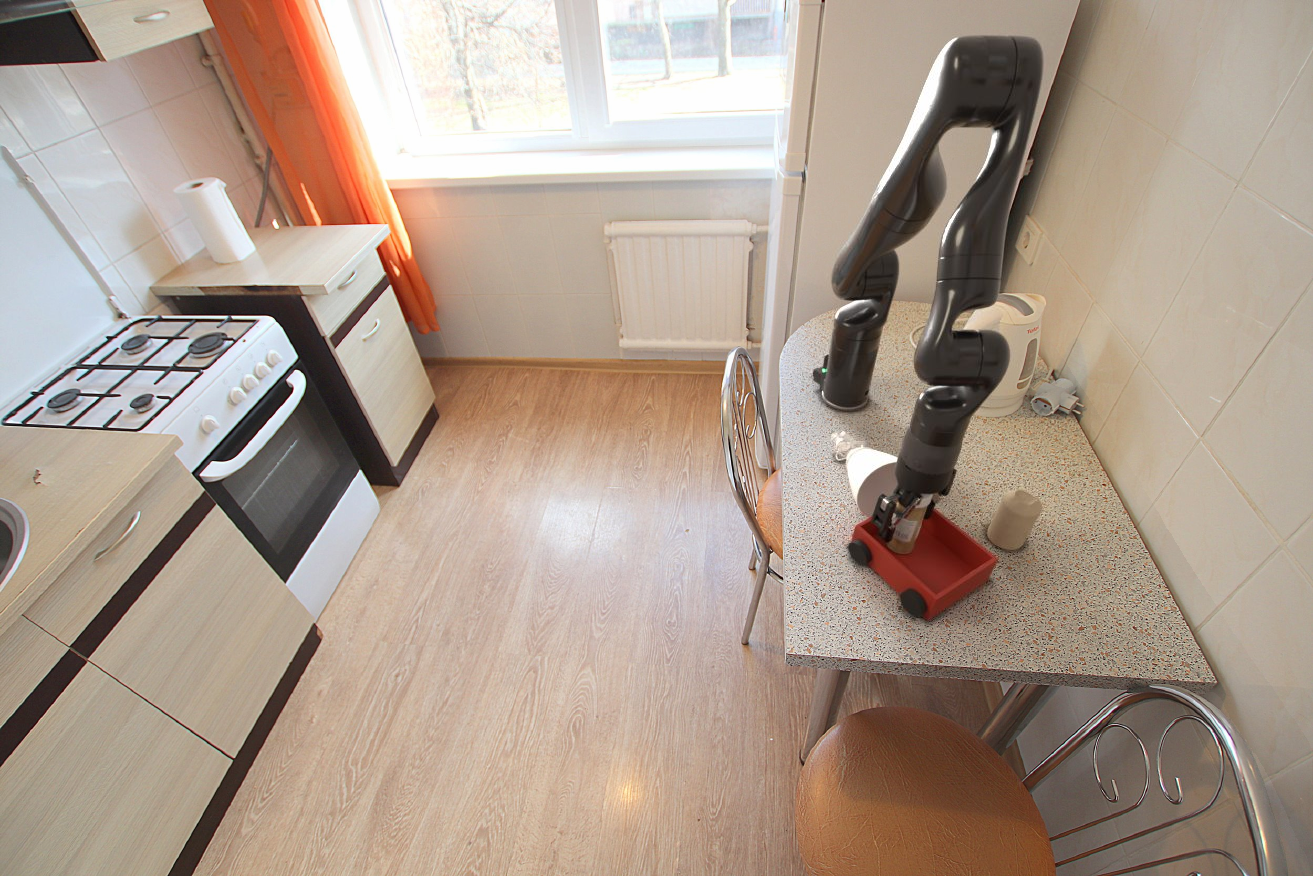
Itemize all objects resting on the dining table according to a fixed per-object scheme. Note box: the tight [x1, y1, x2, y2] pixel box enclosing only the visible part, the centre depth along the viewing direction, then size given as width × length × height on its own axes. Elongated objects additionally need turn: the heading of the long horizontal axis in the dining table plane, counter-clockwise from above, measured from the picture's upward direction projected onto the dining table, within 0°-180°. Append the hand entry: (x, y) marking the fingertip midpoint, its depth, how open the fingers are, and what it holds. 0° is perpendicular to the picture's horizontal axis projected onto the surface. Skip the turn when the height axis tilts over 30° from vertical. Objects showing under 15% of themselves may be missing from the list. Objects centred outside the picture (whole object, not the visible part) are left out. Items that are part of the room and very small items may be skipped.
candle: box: [986, 489, 1043, 551], centre depth 98 cm, size 6×6×10 cm
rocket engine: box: [830, 430, 898, 519], centre depth 110 cm, size 12×12×18 cm
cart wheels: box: [847, 540, 927, 618], centre depth 97 cm, size 15×16×4 cm
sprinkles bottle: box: [885, 494, 933, 554], centre depth 96 cm, size 5×5×14 cm
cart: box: [850, 503, 1000, 622], centre depth 97 cm, size 16×13×6 cm
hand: (903, 527), depth 98 cm, fingers open, 8 cm apart
